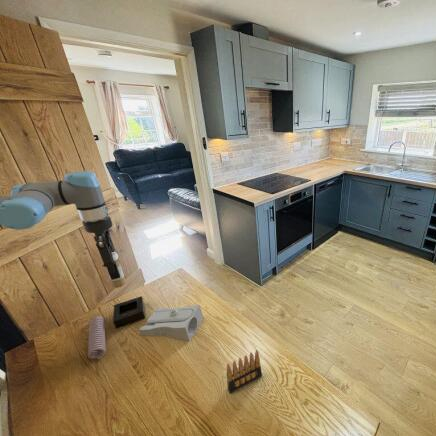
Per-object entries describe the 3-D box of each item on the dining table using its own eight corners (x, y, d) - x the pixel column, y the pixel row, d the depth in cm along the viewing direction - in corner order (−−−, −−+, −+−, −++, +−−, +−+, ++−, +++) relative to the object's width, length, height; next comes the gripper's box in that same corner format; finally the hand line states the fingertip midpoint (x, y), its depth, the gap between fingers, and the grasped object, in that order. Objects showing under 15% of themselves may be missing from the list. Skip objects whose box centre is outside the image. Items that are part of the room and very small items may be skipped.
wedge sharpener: (189, 341, 88) (186, 327, 85) (140, 334, 90) (135, 321, 87) (203, 318, 97) (201, 305, 95) (158, 312, 100) (154, 299, 97)
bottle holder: (115, 329, 92) (112, 321, 90) (116, 312, 100) (114, 305, 98) (145, 318, 97) (143, 311, 95) (144, 303, 104) (141, 296, 103)
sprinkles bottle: (109, 287, 89) (98, 257, 83) (118, 279, 93) (108, 250, 88) (121, 288, 89) (110, 258, 83) (129, 280, 93) (120, 251, 87)
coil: (104, 347, 80) (103, 313, 93) (86, 353, 77) (88, 317, 90) (106, 357, 82) (105, 322, 95) (89, 363, 79) (90, 327, 92)
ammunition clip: (259, 371, 78) (258, 346, 73) (262, 376, 76) (260, 350, 72) (227, 388, 73) (223, 362, 68) (229, 393, 72) (225, 367, 67)
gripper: (107, 225, 74) (128, 284, 84) (111, 207, 88) (128, 260, 97) (77, 231, 71) (101, 291, 80) (85, 211, 84) (105, 265, 94)
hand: (116, 274), depth 89 cm, fingers closed on sprinkles bottle, 4 cm apart
